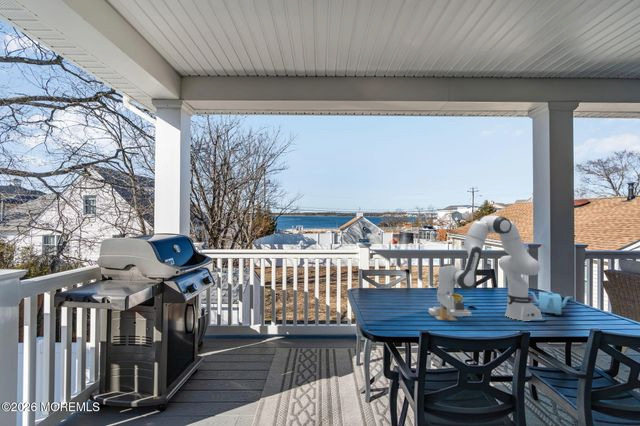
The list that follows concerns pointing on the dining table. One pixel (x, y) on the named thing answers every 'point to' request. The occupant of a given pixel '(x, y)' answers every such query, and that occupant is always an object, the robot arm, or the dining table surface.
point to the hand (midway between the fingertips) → (445, 312)
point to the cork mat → (446, 318)
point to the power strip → (452, 313)
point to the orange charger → (444, 313)
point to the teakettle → (550, 302)
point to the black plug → (459, 305)
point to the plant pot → (457, 297)
